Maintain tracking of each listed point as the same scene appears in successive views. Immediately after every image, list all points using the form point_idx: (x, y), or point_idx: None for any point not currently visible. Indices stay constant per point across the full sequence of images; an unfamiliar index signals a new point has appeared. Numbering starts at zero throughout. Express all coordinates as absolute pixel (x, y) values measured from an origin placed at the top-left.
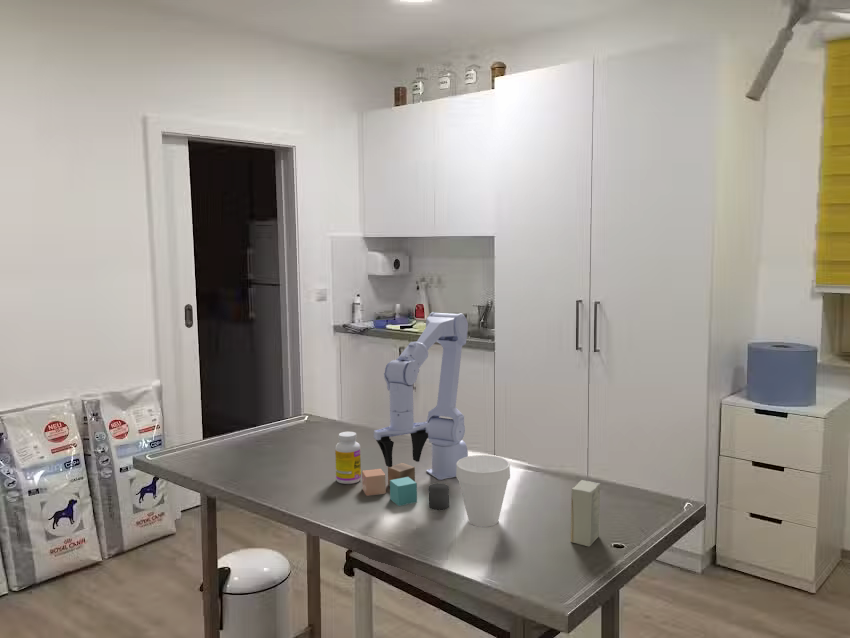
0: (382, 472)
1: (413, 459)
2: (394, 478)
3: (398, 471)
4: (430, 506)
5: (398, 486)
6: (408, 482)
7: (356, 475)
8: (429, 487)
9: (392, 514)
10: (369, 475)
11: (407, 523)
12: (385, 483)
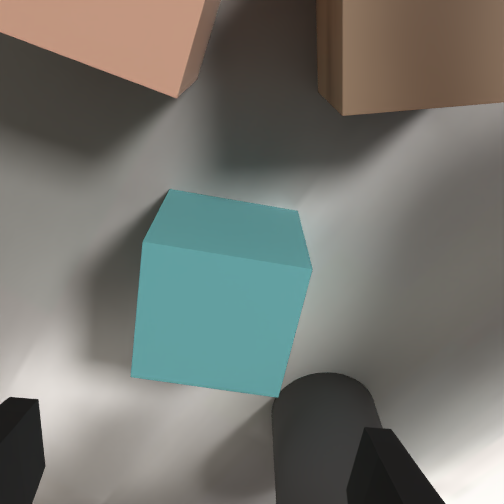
0: (187, 13)
1: (364, 433)
2: (327, 18)
3: (341, 93)
4: (272, 420)
5: (134, 376)
6: (236, 362)
7: None
8: (287, 491)
9: (75, 363)
10: (22, 5)
11: (91, 463)
12: (188, 86)
